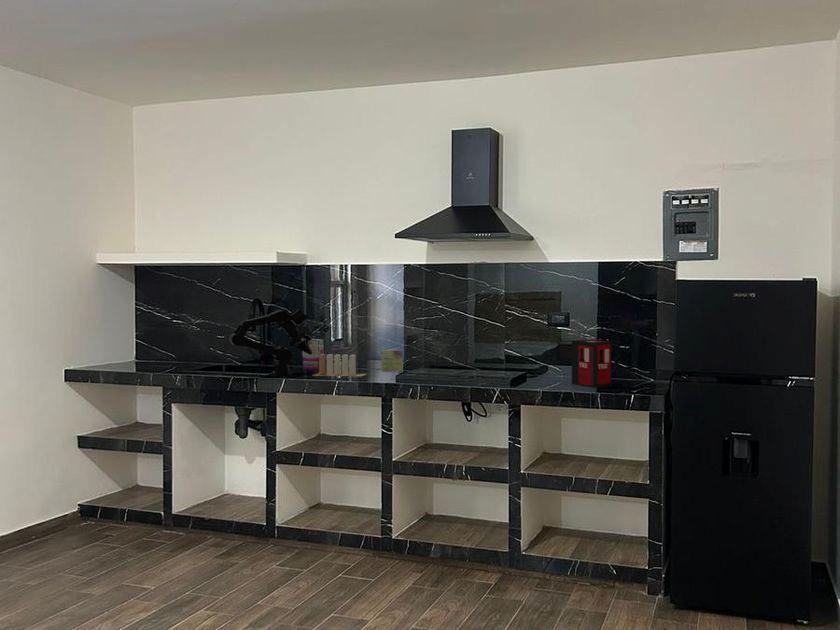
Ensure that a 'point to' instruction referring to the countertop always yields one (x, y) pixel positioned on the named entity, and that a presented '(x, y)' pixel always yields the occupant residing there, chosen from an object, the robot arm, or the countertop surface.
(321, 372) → the domino
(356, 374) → the domino board
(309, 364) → the candy bar box
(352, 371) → the domino
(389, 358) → the box
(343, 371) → the domino
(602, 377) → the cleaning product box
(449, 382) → the countertop surface
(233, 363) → the countertop surface
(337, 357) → the domino
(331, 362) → the domino
